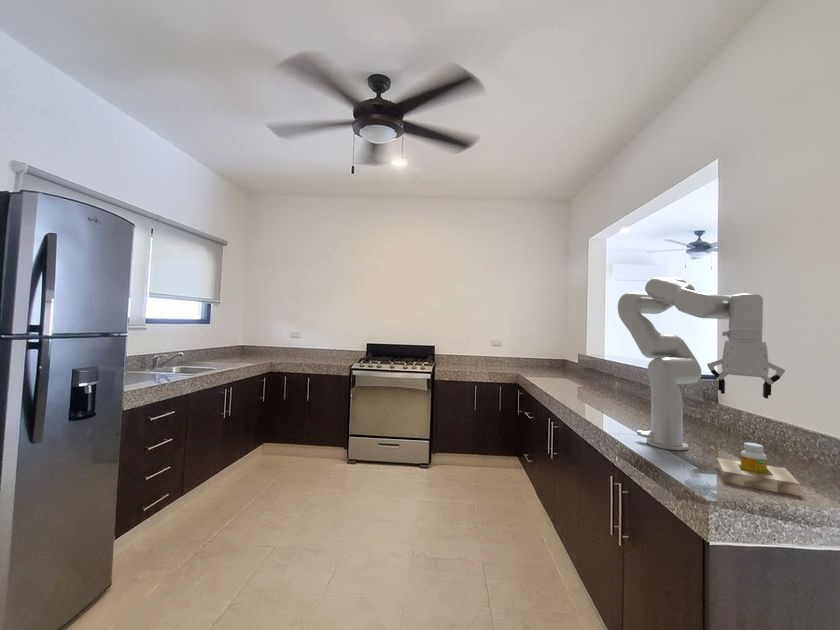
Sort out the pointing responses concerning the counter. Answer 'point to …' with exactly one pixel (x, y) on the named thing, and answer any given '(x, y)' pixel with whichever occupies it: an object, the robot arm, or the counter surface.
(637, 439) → the counter surface
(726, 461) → the socket board
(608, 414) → the counter surface
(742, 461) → the supplement bottle
